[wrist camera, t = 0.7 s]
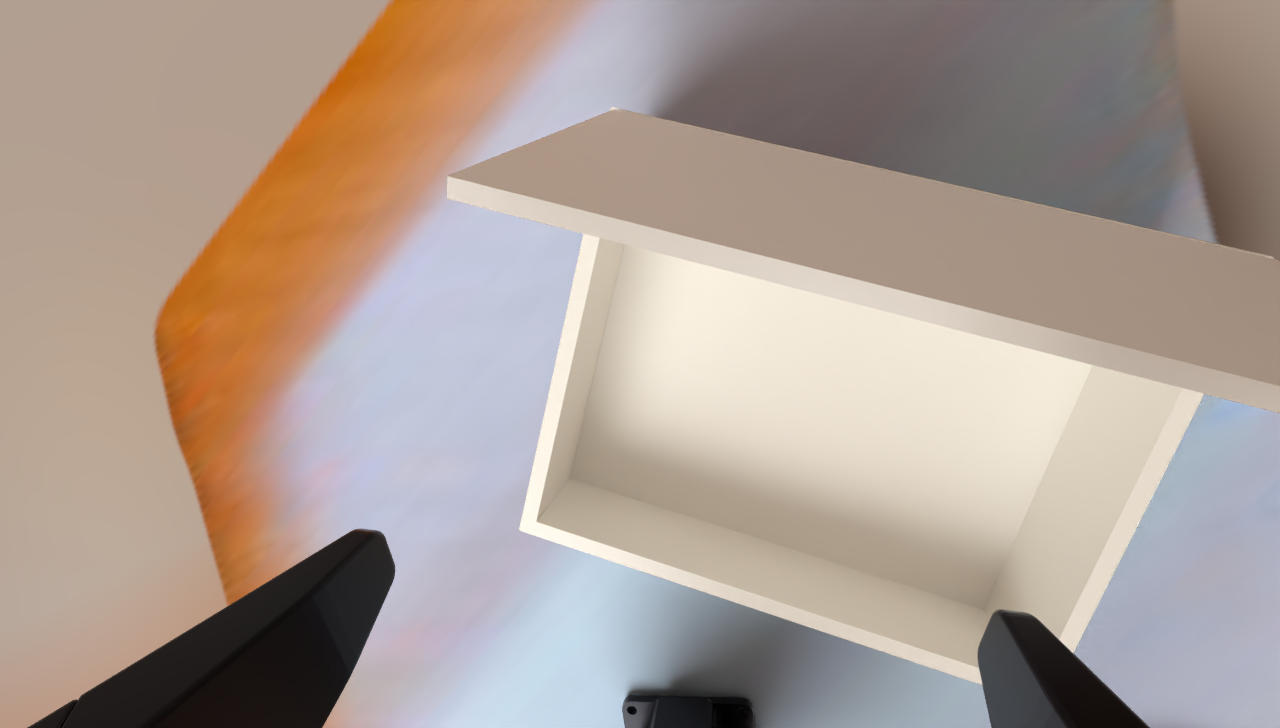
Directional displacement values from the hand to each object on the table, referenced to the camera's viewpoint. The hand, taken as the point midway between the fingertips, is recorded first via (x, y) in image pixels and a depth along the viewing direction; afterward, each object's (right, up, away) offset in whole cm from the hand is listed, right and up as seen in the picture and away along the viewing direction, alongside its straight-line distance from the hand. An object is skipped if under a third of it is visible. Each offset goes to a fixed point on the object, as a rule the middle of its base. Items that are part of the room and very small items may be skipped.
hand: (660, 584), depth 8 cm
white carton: (+7, +2, +15) cm, 17 cm away
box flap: (+8, +9, +9) cm, 15 cm away
